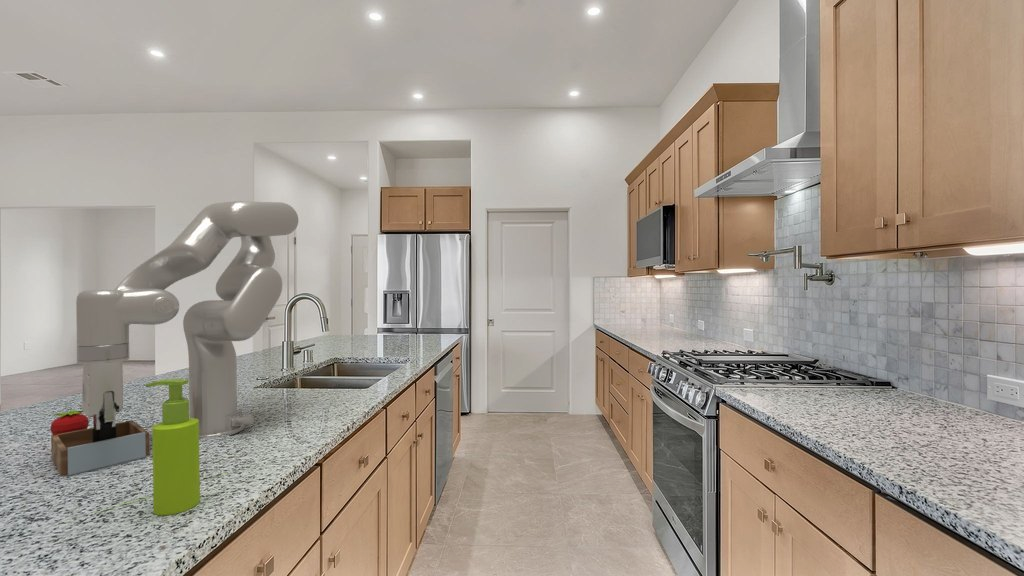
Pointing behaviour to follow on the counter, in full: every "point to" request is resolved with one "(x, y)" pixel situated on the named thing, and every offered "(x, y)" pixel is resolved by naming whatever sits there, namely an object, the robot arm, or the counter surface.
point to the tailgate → (105, 453)
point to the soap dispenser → (175, 454)
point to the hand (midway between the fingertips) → (104, 448)
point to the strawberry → (69, 422)
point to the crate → (84, 437)
